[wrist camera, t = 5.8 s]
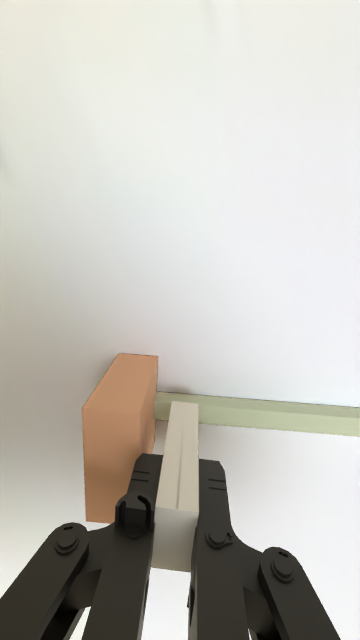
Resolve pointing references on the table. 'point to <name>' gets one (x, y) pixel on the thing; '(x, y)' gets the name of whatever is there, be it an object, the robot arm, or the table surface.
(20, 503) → the table surface
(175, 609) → the table surface
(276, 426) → the mismatched dumbbell
